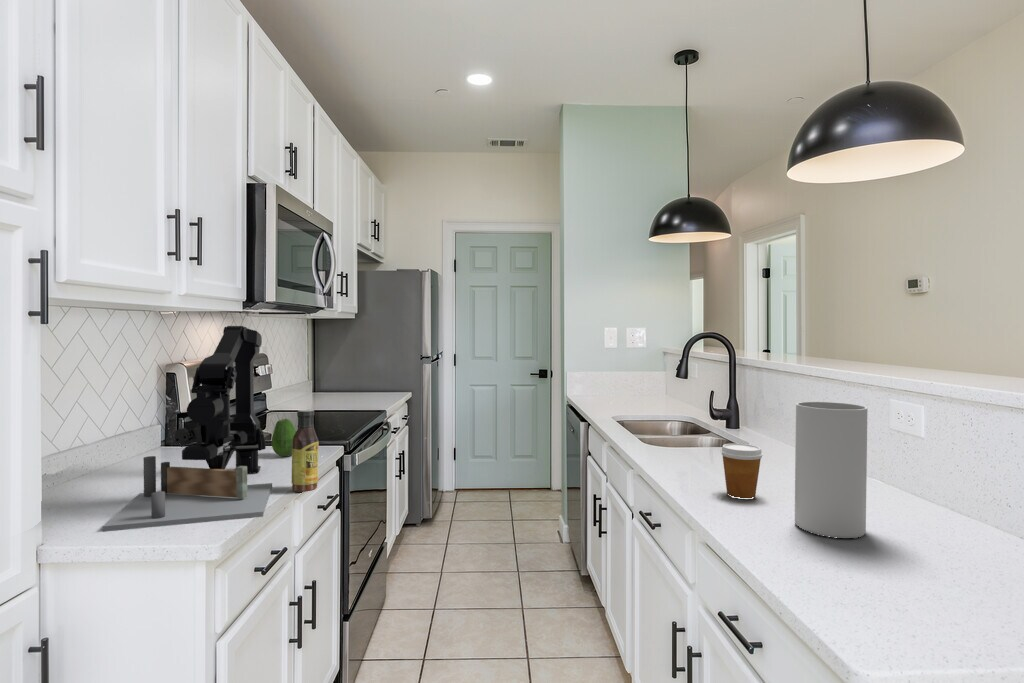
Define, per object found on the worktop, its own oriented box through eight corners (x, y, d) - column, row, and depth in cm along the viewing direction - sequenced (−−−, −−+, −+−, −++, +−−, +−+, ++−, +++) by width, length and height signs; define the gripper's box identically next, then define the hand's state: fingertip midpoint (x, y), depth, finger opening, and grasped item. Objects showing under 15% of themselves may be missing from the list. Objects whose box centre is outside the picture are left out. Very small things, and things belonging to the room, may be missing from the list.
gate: (159, 493, 132) (158, 463, 132) (165, 490, 133) (165, 461, 133) (242, 498, 128) (242, 467, 127) (247, 496, 129) (247, 466, 129)
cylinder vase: (783, 518, 120) (785, 401, 119) (843, 519, 119) (844, 402, 119) (813, 540, 107) (815, 409, 107) (880, 541, 107) (881, 410, 107)
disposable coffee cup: (713, 496, 136) (714, 447, 135) (729, 488, 143) (729, 441, 142) (754, 505, 129) (754, 453, 129) (768, 496, 136) (768, 446, 136)
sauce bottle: (309, 493, 137) (309, 412, 136) (286, 492, 138) (286, 411, 138) (323, 486, 143) (323, 408, 143) (301, 485, 144) (301, 408, 144)
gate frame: (140, 497, 133) (139, 455, 133) (272, 486, 143) (272, 447, 143) (102, 531, 111) (102, 480, 110) (263, 516, 120) (262, 469, 120)
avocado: (276, 454, 181) (276, 417, 180) (301, 453, 181) (301, 416, 181) (268, 459, 173) (268, 420, 172) (294, 459, 174) (294, 420, 173)
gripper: (203, 408, 141) (204, 469, 142) (157, 422, 123) (158, 492, 124) (248, 408, 142) (248, 470, 142) (208, 422, 123) (208, 493, 124)
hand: (216, 480), depth 133 cm, fingers closed
